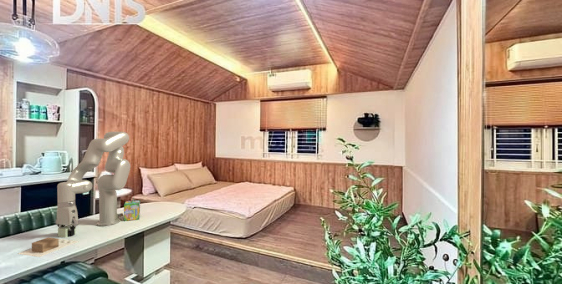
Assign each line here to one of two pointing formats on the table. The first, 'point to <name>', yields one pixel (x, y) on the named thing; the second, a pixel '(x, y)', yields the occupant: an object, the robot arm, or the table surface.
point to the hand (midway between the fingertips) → (67, 235)
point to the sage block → (64, 231)
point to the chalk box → (132, 210)
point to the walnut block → (45, 244)
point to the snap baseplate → (62, 244)
